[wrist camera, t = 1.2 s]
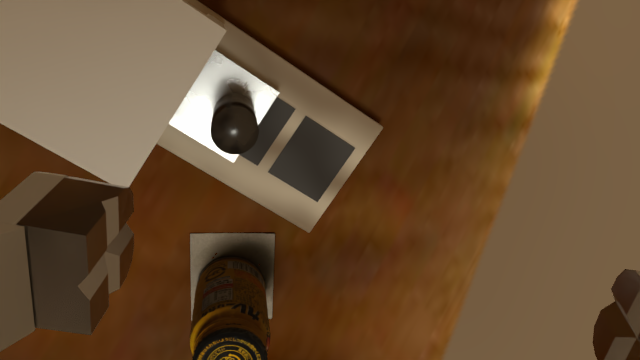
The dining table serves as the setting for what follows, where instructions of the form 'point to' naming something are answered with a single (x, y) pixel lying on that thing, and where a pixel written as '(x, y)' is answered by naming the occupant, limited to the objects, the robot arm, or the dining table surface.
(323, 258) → the dining table surface
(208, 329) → the condiment
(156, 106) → the tunnel
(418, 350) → the dining table surface
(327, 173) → the track
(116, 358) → the dining table surface
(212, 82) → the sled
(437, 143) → the dining table surface
